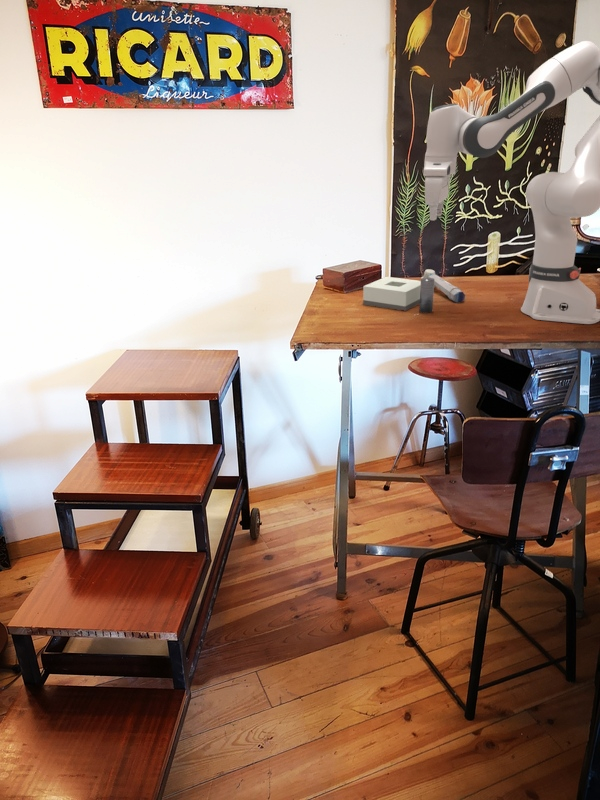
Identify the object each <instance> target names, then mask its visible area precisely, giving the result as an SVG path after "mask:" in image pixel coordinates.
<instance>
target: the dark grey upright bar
mask: <svg viewBox="0 0 600 800" xmlns="http://www.w3.org/2000/svg"><path fill="white" fill-rule="evenodd" d="M420 281H421V286H420V304H418V305H419V306H418V308H419V309H418V310H419V311H418V312H419V313H421V314H430V313H433V312H434V311H433V310H434V309H433V308H434V293H435V290H434V289H435V288H434V278H421V277H420Z"/></svg>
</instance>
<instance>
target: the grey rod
mask: <svg viewBox="0 0 600 800" xmlns="http://www.w3.org/2000/svg"><path fill="white" fill-rule="evenodd" d="M421 278H434V289H435V288H437V289H438V290H439V291H441V292H442V293H444V295H446V296H447V297H448V299H449V300H450V301H453V302H454V303H457V304H458V303H463V302H464V301H465V300H466V294H465V293H464V292H463V291H462V289H460V287H459V286H455V285H453V284H451V283H450V282H449V281H446V280H445V279H444V278H442V277H441V276H439V275H438V274H436V271H435V270H433V269H431V268H430V269H429V268H428V269H425V271H424V272H423V276H422V277H420V279H421Z"/></svg>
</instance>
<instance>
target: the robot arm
mask: <svg viewBox="0 0 600 800" xmlns="http://www.w3.org/2000/svg"><path fill="white" fill-rule="evenodd" d="M580 89H582V91H583V92H584V93H585V94H586V95H587V96H588V98H590V100H591V101H592V102H594V103H595V104H596V105H598V106H600V48H599V47H598V46H597V44H596V43H594V42H593V41H590V40H582V41H580V42H578V43H576V44H573V45H571V46H569V47H567V48H565V49H563V50H562V51H560V52H558V53H557V54H555V55H553V57H550V58H549V59H548V60H546V61H545V62H543V63H542V64H541V65H540V66H539V67H537V68H536V69H535V70H534V71H533V72H532V73H531V74H530V75H529V76H528V78H527V81H526V84H525V91H524V92H523V93H522V94H521V95H520V96H519V97H518V98H516V99H515V100H513V101H512V102H511V103H509V104H508V105H506V106H505V107H504V108H502V109H501V110H500V111H498V112H496V113H494V114H491V115H490V114H488V115H484V116H479V117H478V116H476V115H474V114H472V113H470V112H468V111H466V110H465V109H464V108H462V107H461V106H460V105H459V104H458V103H449V104H443V105H438V106H436V107H434V108H433V109H432V110H431V112H430V114H429V116H428V121H427V125H426V127H427V128H426V137H425V141H426V152H425V154H424V164H423V176H424V177H425V179H424V201H425V205H428V207H429V220H430V221H436V220H437V218H438V217H441V216H442V212H443V208H444V202H445V200H446V199H448V198H449V197H448V196H449V190H450V189H449V188H450V180H451V175H456V168H457V159H458V158H457V157H458V153H463V154H464V155H469V156H473V157H475V158H477V159H478V158H480V159H485V158H489V157H491V156H493V155H494V154H496V153H497V152H498V151H499V149H501V147H502V146H503V144H504V143H505V141H507V139H508V138H509V136H510V135H511V134H512V133H514V132H515V131H516V130H518V129H520V127H522V126H523V125H525V124H526V123H528V122H529V121H530V120H532V119H533V118H534V117H535V116H537V115H538V114H540V113H541V112H544V111H546V110H547V109H549V108H552V107H554V106H556V105H557V104H559V103H560V102H562V101H564V100H566V99H567V98H569V97H570V96H571V95H572V96H573V94H574V93H576V92H578V91H579V90H580ZM574 155H575V158H574V161H573V163H572V165H571V166H570V168H569V169H568V170H567V171H566V172H558V171H550V172H549V171H548V172H544V173H541V174H538V175H535V176H534V177H533V178H531V180H530V181H529V182H528V184H527V187H526V188H525V189H526V190H525V198H526V201H527V204H528V205H529V206H530V207H529V208H530V209H531V213H532V217H533V222H534V223H533V224H534V234H535V235H534V236H535V238H534V250H533V257H532V262H531V264H530V268H529V272H528V273H529V274H528V288H527V291H526V294H525V298H524V301H523V304H522V306H521V307H520V311H521V313H523V314H525V315H528V316H530V317H531V318H532V319H534V320H539V321H540V320H541V321H548V322H549V321H550V322H559V323H561V322H562V323H571V324H581V325H583V324H584V325H593V324H597V323H599V322H600V308H597V298H596V294H595V292H593V291H592V289H590V288H589V287H588V286H586V285H587V284H586V285H585V283H583V282H582V281H581V280H580V274H581V269H582V268H581V267H579V268H578V267H577V266H576V265H575V257H576V253H577V245H578V236H577V234H576V232H575V230H574V228H573V226H572V221H571V219H576V218H577V219H578V218H584V217H585V218H586V217H589V216H592V215H593V214H595V213H596V212H597V211H599V209H600V115H599V116H598V118H596V120H595V121H594V122H593V123H592V125H591V126H590V127H589V129H588V130H587V131H586V132H585V134H584V135H582V138H581V139H579V141H578V142H577V143H576V145H575V148H574Z"/></svg>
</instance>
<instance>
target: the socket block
mask: <svg viewBox="0 0 600 800" xmlns="http://www.w3.org/2000/svg"><path fill="white" fill-rule="evenodd" d="M420 286H421V280H416V279H409V278H408V279H407V278H399V277H392V276H385V277H382V278H380V279H378V280H375V281H373V282H372V281H371V282H370V283H368V284H365V285H363V289H362V290H363V292H362V293H363V294H362V295H363V296H362V297H363V298H362V299H363V300H362V302H363V303H362V304H363V305H364V306H369V307H375V306H376V307H377V308H382V309H388V308H390V310H394V309H397V311H401V310H404V311H403V312H406V311H409V310H410V309H412V308H414V307H415V306H418V305H420ZM376 307H375V308H376Z"/></svg>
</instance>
